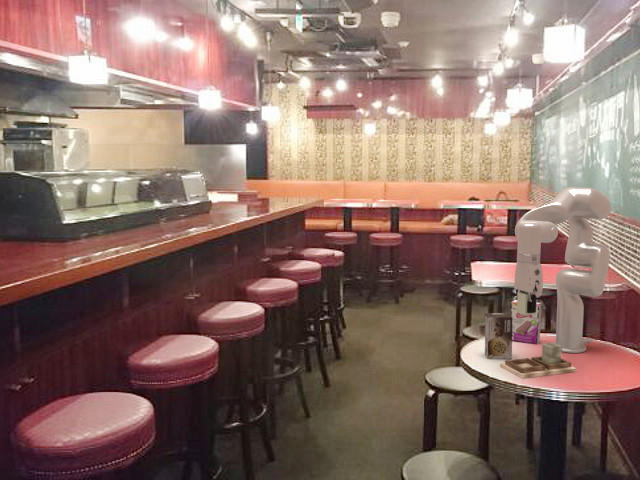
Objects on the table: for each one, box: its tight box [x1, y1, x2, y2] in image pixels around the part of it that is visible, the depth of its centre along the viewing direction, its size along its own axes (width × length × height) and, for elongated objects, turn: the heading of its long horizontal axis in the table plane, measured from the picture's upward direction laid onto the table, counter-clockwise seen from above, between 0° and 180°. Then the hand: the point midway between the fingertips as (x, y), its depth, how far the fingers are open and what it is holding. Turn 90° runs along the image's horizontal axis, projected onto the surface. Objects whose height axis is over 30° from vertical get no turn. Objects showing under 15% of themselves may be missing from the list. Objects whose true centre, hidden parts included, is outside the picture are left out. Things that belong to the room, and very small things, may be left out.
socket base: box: [499, 342, 578, 379], centre depth 215 cm, size 22×13×8 cm, turn 107°
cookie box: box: [484, 312, 513, 360], centre depth 230 cm, size 9×6×16 cm
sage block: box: [516, 292, 538, 315], centre depth 211 cm, size 4×4×7 cm
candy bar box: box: [510, 299, 542, 345], centre depth 249 cm, size 11×5×16 cm, turn 59°
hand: (526, 310), depth 212 cm, fingers closed on sage block, 4 cm apart
